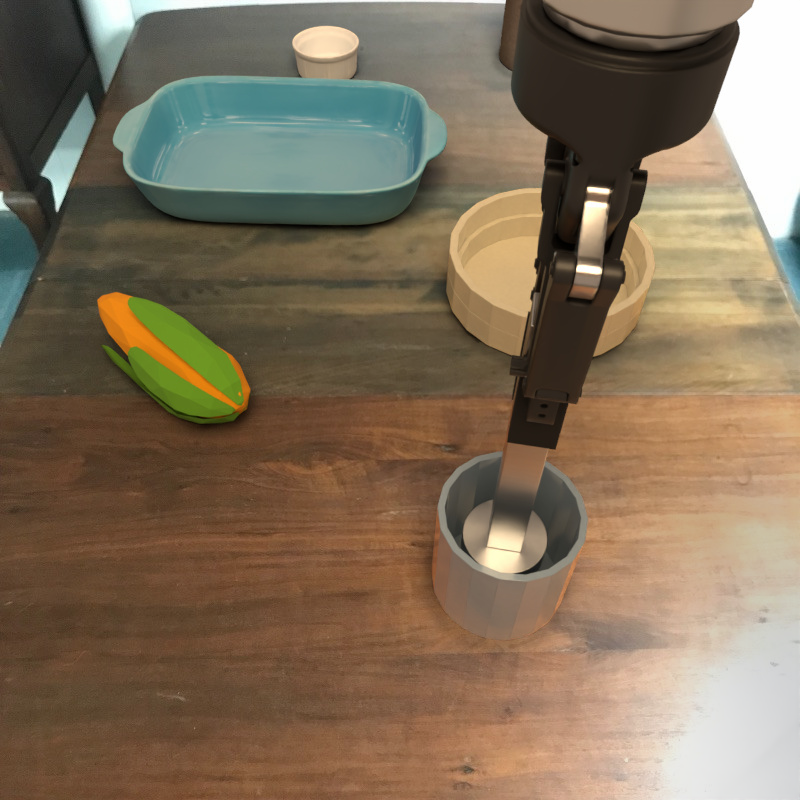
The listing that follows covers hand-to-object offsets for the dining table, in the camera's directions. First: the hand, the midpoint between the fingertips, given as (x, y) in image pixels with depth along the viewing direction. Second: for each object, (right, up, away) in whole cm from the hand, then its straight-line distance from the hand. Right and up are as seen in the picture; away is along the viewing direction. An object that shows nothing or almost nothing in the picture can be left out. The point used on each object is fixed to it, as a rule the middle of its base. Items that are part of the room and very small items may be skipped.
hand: (533, 418), depth 45 cm
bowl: (+7, +12, +36) cm, 38 cm away
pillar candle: (+11, +49, +66) cm, 83 cm away
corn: (-29, +3, +28) cm, 41 cm away
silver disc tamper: (0, -10, +12) cm, 15 cm away
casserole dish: (-21, +27, +48) cm, 58 cm away
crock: (0, -13, +16) cm, 20 cm away
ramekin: (-18, +46, +63) cm, 80 cm away
